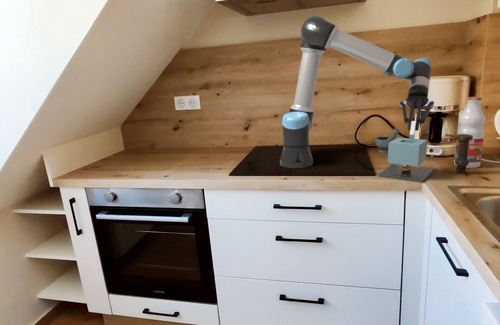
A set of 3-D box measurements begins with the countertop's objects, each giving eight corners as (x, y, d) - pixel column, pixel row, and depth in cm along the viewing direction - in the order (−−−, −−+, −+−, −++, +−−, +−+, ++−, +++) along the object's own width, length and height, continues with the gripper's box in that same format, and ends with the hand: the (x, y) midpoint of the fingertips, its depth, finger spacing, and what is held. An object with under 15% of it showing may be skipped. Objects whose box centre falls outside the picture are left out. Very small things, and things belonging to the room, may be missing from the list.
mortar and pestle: (373, 153, 172) (374, 129, 169) (376, 149, 180) (377, 126, 177) (397, 154, 167) (399, 130, 164) (399, 150, 175) (401, 126, 172)
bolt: (454, 170, 138) (458, 133, 134) (469, 172, 135) (473, 134, 131) (451, 174, 134) (455, 136, 130) (466, 176, 131) (471, 137, 127)
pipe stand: (378, 176, 136) (379, 151, 134) (392, 166, 148) (393, 143, 145) (422, 182, 126) (424, 156, 124) (433, 171, 138) (435, 147, 135)
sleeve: (387, 162, 135) (388, 142, 133) (396, 156, 143) (397, 137, 141) (417, 166, 128) (419, 145, 126) (425, 159, 136) (427, 139, 134)
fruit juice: (480, 163, 145) (488, 96, 138) (480, 169, 138) (488, 98, 131) (454, 161, 150) (460, 96, 143) (452, 167, 143) (459, 98, 136)
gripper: (435, 95, 145) (430, 142, 136) (402, 96, 152) (394, 141, 142) (436, 83, 140) (430, 131, 130) (401, 84, 146) (393, 130, 136)
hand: (412, 136), depth 136 cm, fingers closed
